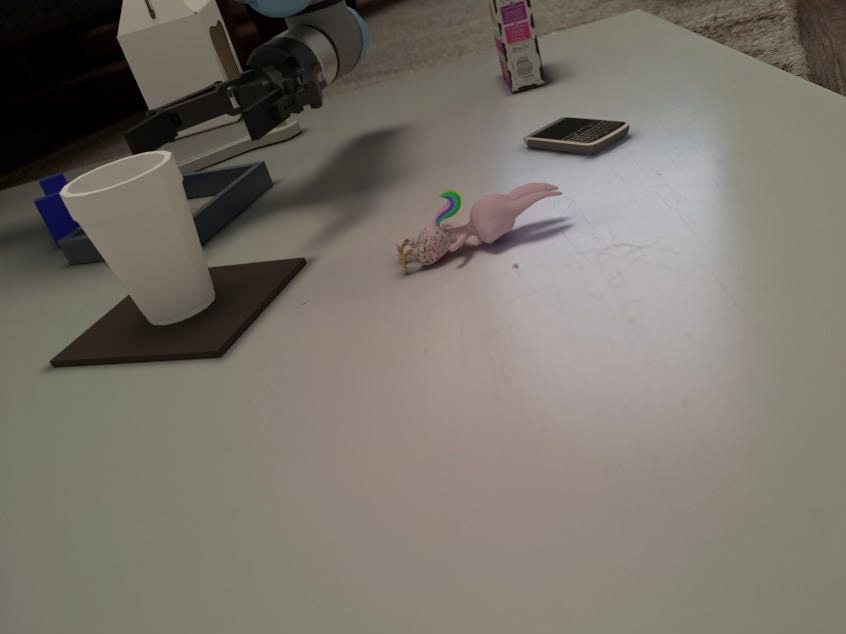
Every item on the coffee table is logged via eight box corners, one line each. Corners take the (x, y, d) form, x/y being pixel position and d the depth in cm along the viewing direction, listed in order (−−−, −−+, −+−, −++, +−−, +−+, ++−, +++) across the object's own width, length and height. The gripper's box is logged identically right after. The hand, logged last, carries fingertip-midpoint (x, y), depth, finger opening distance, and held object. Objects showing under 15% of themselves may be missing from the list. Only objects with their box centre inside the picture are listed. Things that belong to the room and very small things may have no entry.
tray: (69, 265, 97) (56, 241, 96) (158, 200, 111) (148, 179, 110) (195, 250, 91) (184, 225, 89) (273, 183, 105) (264, 160, 103)
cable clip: (94, 234, 105) (71, 189, 102) (58, 247, 104) (33, 202, 101) (94, 209, 115) (73, 168, 112) (61, 221, 114) (39, 180, 111)
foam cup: (165, 287, 82) (103, 160, 75) (248, 275, 79) (190, 143, 72) (111, 339, 74) (36, 204, 68) (200, 329, 71) (131, 186, 65)
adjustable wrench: (134, 196, 117) (128, 184, 116) (132, 186, 122) (126, 174, 121) (303, 134, 122) (298, 122, 121) (294, 126, 127) (289, 115, 127)
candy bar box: (548, 84, 112) (522, -48, 104) (512, 94, 113) (483, -37, 104) (535, 67, 122) (510, -55, 114) (502, 76, 122) (474, -45, 114)
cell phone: (595, 158, 85) (593, 144, 84) (521, 149, 93) (518, 136, 92) (635, 134, 87) (633, 121, 87) (560, 128, 95) (557, 115, 95)
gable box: (239, 121, 140) (167, -61, 126) (163, 143, 140) (82, -36, 126) (250, 92, 159) (189, -69, 145) (183, 111, 159) (115, -47, 145)
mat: (52, 366, 74) (48, 361, 74) (156, 278, 86) (154, 273, 86) (220, 356, 68) (217, 350, 67) (306, 262, 80) (304, 256, 80)
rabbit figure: (413, 295, 71) (575, 219, 70) (382, 235, 68) (550, 155, 67) (408, 266, 77) (558, 195, 76) (378, 209, 74) (534, 135, 73)
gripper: (399, 85, 93) (317, 157, 76) (214, 118, 102) (104, 189, 85) (379, 14, 89) (288, 74, 72) (188, 55, 98) (68, 117, 81)
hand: (188, 136), depth 79 cm, fingers open, 13 cm apart
